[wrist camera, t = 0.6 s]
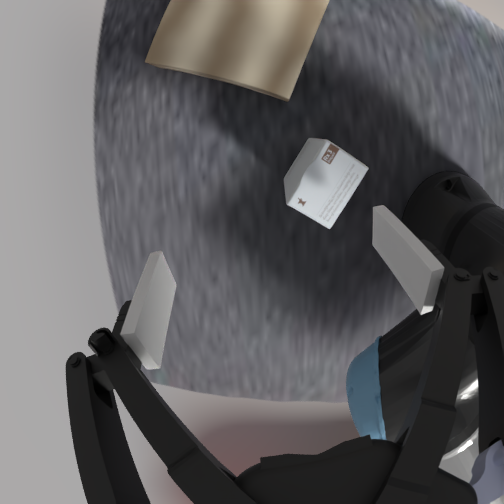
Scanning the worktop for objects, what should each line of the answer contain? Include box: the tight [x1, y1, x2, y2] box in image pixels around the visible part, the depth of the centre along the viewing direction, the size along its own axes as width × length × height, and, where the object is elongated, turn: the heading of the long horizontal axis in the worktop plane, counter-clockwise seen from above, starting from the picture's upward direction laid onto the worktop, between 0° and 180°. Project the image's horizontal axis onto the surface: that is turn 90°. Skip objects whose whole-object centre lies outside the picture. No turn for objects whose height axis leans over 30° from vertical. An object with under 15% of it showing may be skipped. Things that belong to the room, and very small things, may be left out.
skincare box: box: [283, 138, 369, 229], centre depth 26 cm, size 6×4×12 cm
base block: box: [145, 0, 329, 102], centre depth 23 cm, size 16×14×4 cm
